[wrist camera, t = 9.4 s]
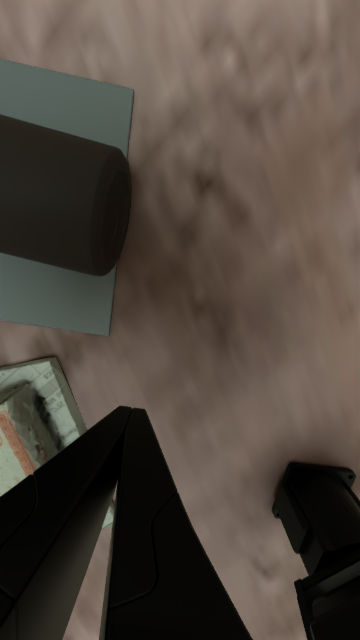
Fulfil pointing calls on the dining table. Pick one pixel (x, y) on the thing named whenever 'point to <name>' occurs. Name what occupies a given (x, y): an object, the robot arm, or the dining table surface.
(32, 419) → the packaged product
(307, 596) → the robot arm
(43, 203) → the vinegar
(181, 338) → the dining table surface
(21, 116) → the mat
